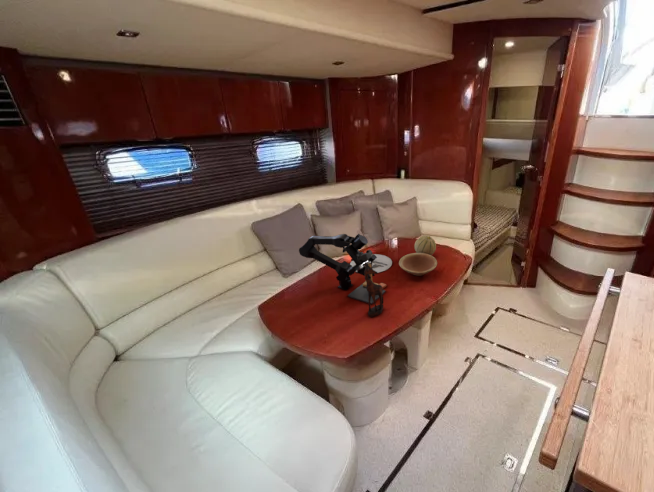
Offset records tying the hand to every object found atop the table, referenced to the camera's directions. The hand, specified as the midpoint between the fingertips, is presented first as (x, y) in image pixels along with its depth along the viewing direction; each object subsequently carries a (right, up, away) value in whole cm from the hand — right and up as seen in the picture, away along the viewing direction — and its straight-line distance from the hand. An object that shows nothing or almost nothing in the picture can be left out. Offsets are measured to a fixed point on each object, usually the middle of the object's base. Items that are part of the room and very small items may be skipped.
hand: (372, 277), depth 164 cm
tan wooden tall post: (-1, -6, +5) cm, 8 cm away
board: (-4, -10, +6) cm, 12 cm away
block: (+4, -6, +12) cm, 14 cm away
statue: (+3, -18, -10) cm, 21 cm away
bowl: (+26, +2, +27) cm, 38 cm away
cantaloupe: (+33, +13, +47) cm, 59 cm away
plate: (-4, +7, +38) cm, 39 cm away
